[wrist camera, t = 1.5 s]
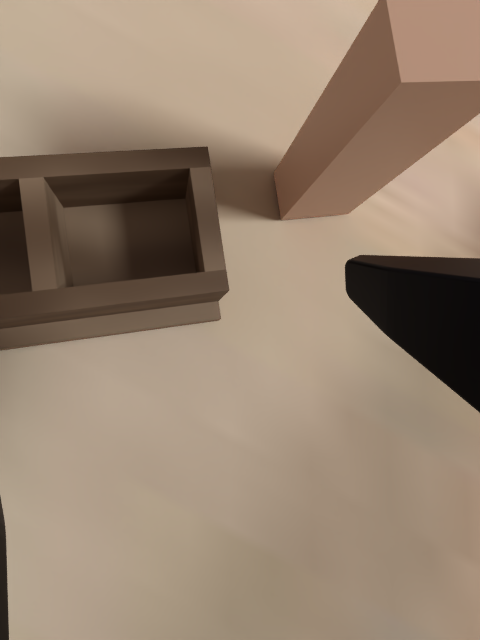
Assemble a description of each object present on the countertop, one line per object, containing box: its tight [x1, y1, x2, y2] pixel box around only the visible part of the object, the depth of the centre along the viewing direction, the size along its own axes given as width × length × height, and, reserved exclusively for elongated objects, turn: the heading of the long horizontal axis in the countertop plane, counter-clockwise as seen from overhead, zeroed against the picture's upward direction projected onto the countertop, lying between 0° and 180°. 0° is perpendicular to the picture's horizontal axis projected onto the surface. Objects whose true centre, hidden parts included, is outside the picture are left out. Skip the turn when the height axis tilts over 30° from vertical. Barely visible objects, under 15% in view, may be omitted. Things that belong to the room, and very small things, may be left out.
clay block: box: [274, 0, 480, 220], centre depth 19 cm, size 3×4×13 cm, turn 98°
